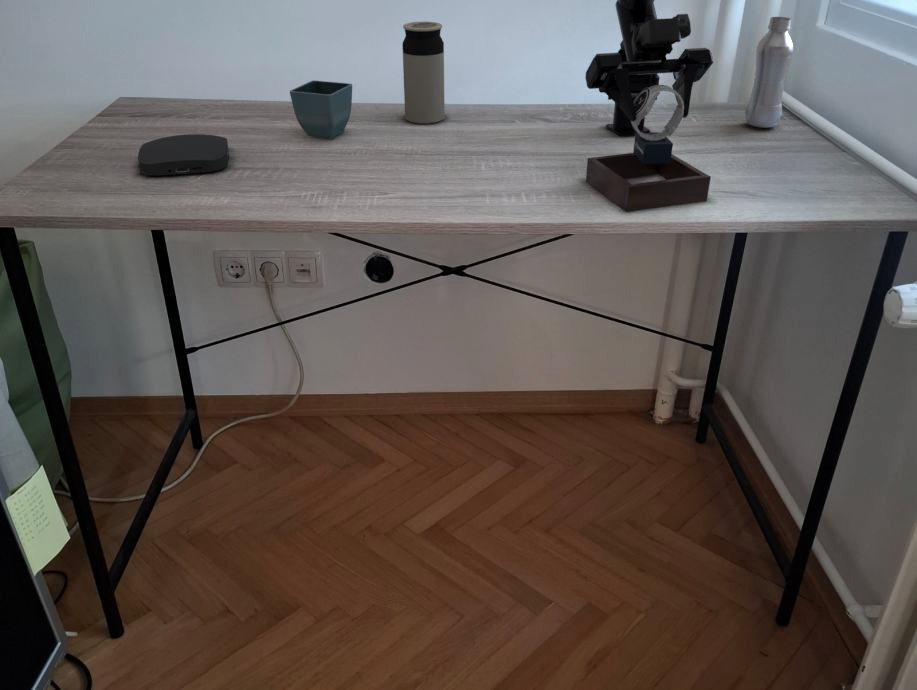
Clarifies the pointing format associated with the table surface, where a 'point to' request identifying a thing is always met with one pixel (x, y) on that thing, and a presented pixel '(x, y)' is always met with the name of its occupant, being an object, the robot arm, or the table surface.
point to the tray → (675, 190)
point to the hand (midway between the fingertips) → (659, 118)
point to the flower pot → (322, 107)
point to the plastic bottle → (770, 74)
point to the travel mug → (423, 72)
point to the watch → (657, 144)
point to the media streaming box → (183, 154)
